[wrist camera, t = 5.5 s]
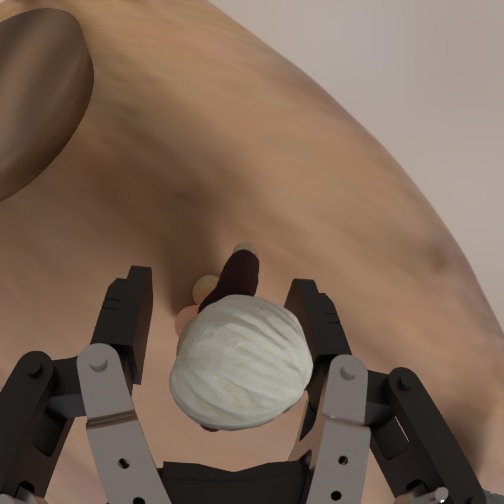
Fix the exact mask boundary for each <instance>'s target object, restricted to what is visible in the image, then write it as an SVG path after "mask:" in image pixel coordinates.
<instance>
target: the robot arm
mask: <svg viewBox="0 0 504 504" xmlns="http://www.w3.org/2000/svg"><path fill="white" fill-rule="evenodd" d="M152 308H153V289H152V270H151V267H143V266H131V268H130V271H129V274H128V277H127V279H122V278H117V279H116V280H115V281H114V282H113V283H112V284H111V285H110V286H109V287H108V290H107V293H106V296H105V300H104V301H103V304H102V309H101V311H100V314H99V317H98V320H97V323H96V327H95V330H94V333H93V337H92V340H91V343H90V345H89V346H87V347H85V348H84V349H83V350H82V351H81V352H80V354H79V355H78V356H76V357H73V358H67V359H60V360H51V358H50V357H49V356H48V355H47V354H46V353H44V352H41V351H31V352H28V353H26V354H25V355H23V356H22V357H21V358H20V360H19V361H18V363H17V364H16V366H15V368H14V369H13V371H12V373H11V375H10V376H9V378H8V380H7V382H6V383H5V385H4V387H3V389H2V391H1V392H0V504H48V503H47V502H46V500H44V497H45V494H46V491H47V488H48V485H49V482H50V480H51V477H52V474H53V471H54V469H55V466H56V463H57V461H58V458H59V456H60V453H61V450H62V448H63V445H64V443H65V440H66V438H67V436H68V433H69V431H70V428H71V426H72V424H73V421H74V419H75V417H80V416H87V423H86V431H87V436H88V439H89V443H90V447H91V451H92V454H93V458H94V461H95V464H96V468H97V471H98V474H99V477H100V480H101V483H102V486H103V489H104V492H105V494H106V497H107V500H108V503H107V504H360V503H361V498H362V492H363V487H364V480H365V474H366V467H367V460H368V453H369V447H370V449H371V451H372V453H373V455H374V457H375V459H376V461H377V463H378V465H379V467H380V469H381V471H382V473H383V475H384V477H385V479H386V481H387V483H388V485H389V487H390V489H391V491H392V493H393V495H394V497H395V501H394V504H486V496H485V493H484V491H483V489H482V487H481V485H480V483H479V481H478V480H477V478H476V476H475V474H474V472H473V470H472V468H471V466H470V464H469V463H468V461H467V459H466V457H465V455H464V454H463V452H462V450H461V448H460V446H459V445H458V443H457V441H456V439H455V438H454V436H453V434H452V432H451V431H450V429H449V427H448V426H447V424H446V422H445V420H444V419H443V417H442V415H441V414H440V412H439V410H438V409H437V407H436V406H435V404H434V402H433V401H432V399H431V397H430V396H429V394H428V393H427V391H426V389H425V388H424V386H423V385H422V383H421V381H420V380H419V378H418V377H417V375H416V374H415V373H414V372H412V371H411V370H409V369H407V368H404V367H398V368H395V369H393V370H392V371H391V372H390V374H389V375H388V374H383V373H379V372H374V371H370V370H368V369H367V368H366V366H365V365H364V363H363V362H362V361H361V360H359V359H358V358H356V357H354V356H352V353H351V350H350V347H349V345H348V342H347V339H346V336H345V333H344V331H343V328H342V325H341V324H340V320H339V317H338V315H337V311H336V309H335V306H334V303H333V302H332V301H331V300H330V298H329V297H328V296H327V295H326V294H325V293H319V292H318V289H317V287H316V284H315V281H314V280H311V279H294V280H293V281H292V284H291V287H290V290H289V293H288V296H287V299H286V302H285V305H284V308H286V309H287V310H289V311H290V312H291V313H293V314H294V315H295V316H296V317H297V319H298V321H299V323H300V325H301V327H302V330H303V333H304V336H305V340H306V342H307V346H308V349H309V351H310V354H311V356H312V362H313V369H312V374H311V378H310V381H309V383H308V384H307V386H306V387H305V389H304V390H307V392H308V396H309V397H308V399H307V400H306V403H305V407H304V411H303V415H302V419H301V423H300V427H299V431H298V435H297V438H296V442H295V445H294V447H293V449H292V451H291V453H290V455H289V458H288V460H287V461H286V462H273V463H266V464H262V465H259V466H256V467H252V468H249V469H245V470H241V471H237V472H230V471H225V470H221V469H217V468H213V467H209V466H205V465H201V464H195V463H177V462H165V461H163V468H156V465H155V463H154V460H153V458H152V455H151V453H150V450H149V448H148V445H147V442H146V440H145V437H144V434H143V432H142V429H141V426H140V423H139V420H138V417H137V414H136V411H135V408H134V405H133V402H132V399H131V396H132V389H133V384H139V385H141V380H142V372H143V365H144V358H145V352H146V345H147V339H148V333H149V327H150V321H151V315H152ZM395 416H396V418H397V420H398V421H399V423H400V425H401V427H402V429H403V430H404V432H405V434H406V436H407V438H408V440H409V442H408V440H407V438H406V436H405V435H404V433H403V431H402V429H401V427H400V426H399V424H398V422H397V420H396V418H395Z"/></svg>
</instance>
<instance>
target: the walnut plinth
mask: <svg viewBox="0 0 504 504" xmlns="http://www.w3.org/2000/svg"><path fill="white" fill-rule="evenodd" d="M93 83H94V70H93V65H92V61H91V58H90V55H89V52H88V49H87V46H86V43H85V40H84V37H83V33H82V30H81V27H80V25H79V22H78V21H77V20H76V18H75V17H74V16H72V15H71V14H70V13H68V12H66V11H63V10H59V9H52V8H44V9H36V10H31V11H27V12H24V13H21V14H18V15H15V16H13V17H11V18H8V19H6V20H4V21H3V22H1V23H0V201H1V200H4V199H6V198H8V197H9V196H11V195H13V194H15V193H16V192H18V191H19V190H21V189H22V188H23V187H25V186H26V185H28V184H29V183H30V182H31V181H32V180H33V179H35V178H36V177H37V176H38V175H39V174H40V173H41V172H42V171H43V170H44V169H45V168H46V167H47V166H48V165H49V164H50V163H51V162H52V161H53V160H54V159H55V158H56V156H57V155H58V154H59V153H60V152H61V150H62V149H63V148H64V146H65V145H66V144H67V142H68V141H69V140H70V138H71V137H72V135H73V133H74V132H75V130H76V129H77V127H78V125H79V123H80V121H81V119H82V118H83V116H84V113H85V111H86V109H87V106H88V104H89V101H90V97H91V94H92V89H93Z"/></svg>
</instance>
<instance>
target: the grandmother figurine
mask: <svg viewBox="0 0 504 504" xmlns="http://www.w3.org/2000/svg"><path fill="white" fill-rule="evenodd" d="M257 257H258V253H257V250H256V248H255V247H254V246H253V245H252V244H250V243H247V242H243V243H240V244H238V245H237V246H236V247H235V248H234V250H233V254H232V255H231V256H230V258H229V259H228V261H227V262H226V264H225V266H224V268H223V271H222V273H221V276H220V278H218V277H216V276H214V275H205V276H203V277H201V278H200V279H198V281H197V282H196V283H195V285H194V287H193V291H192V296H193V300H194V302H195V303H196V304H197V305H193V306H189V307H186V308H184V309H182V310H181V311H180V312H179V314H178V315H177V317H176V320H175V329H176V333H177V335H178V337H179V341H178V345H177V353H176V356H177V358H176V360H175V363H174V366H173V369H172V371H171V374H170V378H169V385H170V391H171V394H172V396H173V399H174V400H175V402H176V404H177V405H178V406H179V407H180V409H181V410H182V411H183V412H184V413H186V414H187V416H188V417H190V418H191V419H192V420H193V421H195V423H196V424H198V425H199V426H201V427H202V428H204V429H205V430H207V431H210V432H216V431H219V430H226V431H235V430H242V429H248V428H253V427H258V426H261V425H263V424H266V423H268V422H270V421H273V420H274V419H275V418H277V417H278V416H279V415H280V414H282V413H284V412H286V411H288V410H289V409H290V408H291V407H292V406H293V405H294V404H295V403H297V402H298V401H299V399H300V398H301V396H302V394H303V391H304V389H305V387H306V386H307V384H308V383H309V381H310V378H311V374H312V369H313V362H312V356H311V354H310V351H309V349H308V346H307V342H306V340H305V336H304V333H303V330H302V327H301V325H300V323H299V321H298V319H297V317H296V316H295V315H294V314H293V313H291V312H290V311H289V310H287V309H286V308H284V307H282V306H280V305H278V304H275V303H273V302H270V301H268V300H265V299H263V298H260V297H254V295H255V293H256V289H257V285H258V273H259V260H258V258H257Z"/></svg>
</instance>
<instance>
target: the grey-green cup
mask: <svg viewBox="0 0 504 504" xmlns="http://www.w3.org/2000/svg"><path fill="white" fill-rule="evenodd" d="M483 491H484V493H485V496H486V504H504V496H503V495H498V494H496V493H495V494H491V493H490V492H489V491H487V490H484V489H483Z"/></svg>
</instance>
